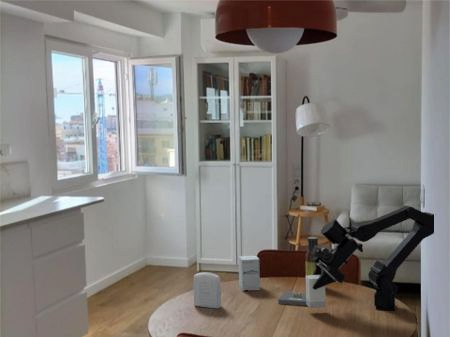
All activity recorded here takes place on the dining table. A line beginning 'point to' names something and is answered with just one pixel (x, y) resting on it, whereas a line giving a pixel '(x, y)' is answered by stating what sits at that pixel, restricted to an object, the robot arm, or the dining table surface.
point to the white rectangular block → (314, 293)
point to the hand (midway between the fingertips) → (311, 286)
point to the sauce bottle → (310, 255)
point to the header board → (293, 298)
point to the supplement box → (249, 273)
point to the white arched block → (207, 290)
